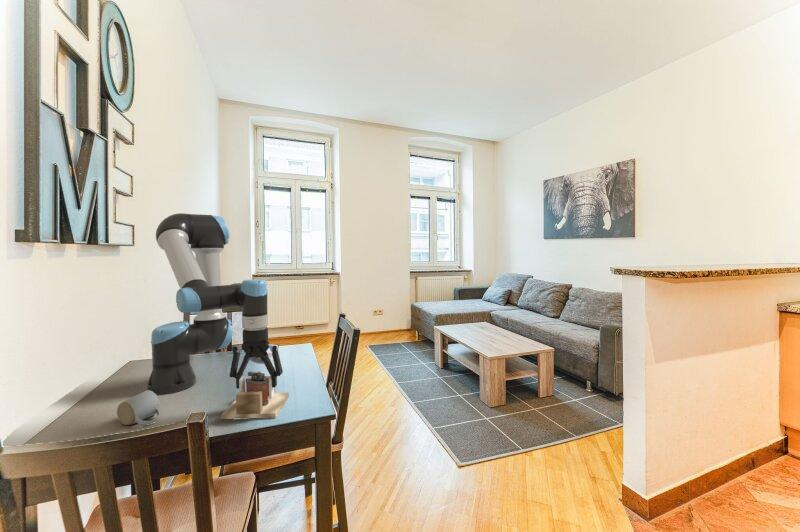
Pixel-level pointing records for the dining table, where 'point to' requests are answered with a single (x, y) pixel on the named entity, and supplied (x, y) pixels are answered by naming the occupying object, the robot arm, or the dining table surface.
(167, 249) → the robot arm
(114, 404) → the dining table surface
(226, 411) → the stand
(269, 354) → the pink flower
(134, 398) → the ceramic mug
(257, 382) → the lighter
